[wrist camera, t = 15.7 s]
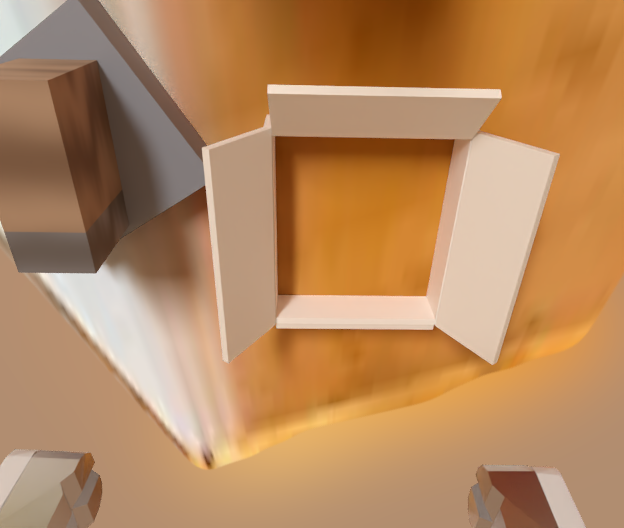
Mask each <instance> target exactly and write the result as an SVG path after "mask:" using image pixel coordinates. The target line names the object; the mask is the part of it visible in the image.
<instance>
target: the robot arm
mask: <svg viewBox="0 0 624 528" xmlns="http://www.w3.org/2000/svg"><path fill="white" fill-rule="evenodd" d="M94 463H95V461H94V459H93V457H92V454H91V453H88V452H64V451H42V450H17V449H15V450H14V451H12V452H11V453H10V454H9V455H8V456H7V457H6V458H5V459H4V461H3V463H2V464H1V466H0V528H87V527H89V526H90V525H91V524H92V523H93V522H94V520H95V517H96V515H97V512H98V510H99V507H100V501H101V497H102V481H101V478H100V475H98V474H97V473H96V472H94V471H93V470H92V468H93V465H94ZM476 477H477V480H478V483H477V484H476V485H474V486H472V487H471V489H470V493H469V496H468V514H469V520H470V524H471V528H586V526H585V524H584V522H583V520H582V518H581V516H580V514H579V512H578V509H577V507H576V505H575V503H574V501H573V499H572V497H571V495H570V493H569V490H568V488H567V486H566V484H565V482H564V480H563V478H562V476H561V474H560V472H559V471H558V470H557V469H556V468H554V467H539V466H524V465H522V466H521V465H520V466H519V465H481V466H480V467H479V468H478V470H477V473H476Z"/></svg>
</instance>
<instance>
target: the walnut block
mask: <svg viewBox="0 0 624 528" xmlns="http://www.w3.org/2000/svg"><path fill="white" fill-rule="evenodd" d="M0 221H1V224H2V226H3V229H4V232H5V235H6V238H7V241H8V244H9V246H10V249H11V252H12V255H13V258H14V261H15V263H16V266H17V269H18V272H26V273H97V271H98V270H99V268H100V267H101V265H102V264H103V262H104V261H105V260H106V258H107V257H108V255H109V254H110V252H111V251H112V249H113V248H114V247H115V245H116V244H117V242H118V241H119V239H120V238H121V237H122V235H123V234H124V232H125V231H126V229H127V228H128V226H129V221H128V216H127V211H126V206H125V201H124V196H123V191H122V186H121V181H120V175H119V170H118V165H117V160H116V155H115V150H114V145H113V140H112V135H111V130H110V125H109V120H108V114H107V109H106V104H105V99H104V94H103V89H102V84H101V79H100V74H99V69H98V64H97V60H68V59H24V58H19V59H15V60H12V61H8V62H5V63H2V64H0Z"/></svg>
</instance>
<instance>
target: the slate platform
mask: <svg viewBox="0 0 624 528" xmlns="http://www.w3.org/2000/svg"><path fill="white" fill-rule="evenodd" d="M19 58H24V59H68V60H97V64H98V69H99V74H100V79H101V84H102V89H103V94H104V99H105V104H106V109H107V114H108V120H109V125H110V130H111V135H112V140H113V145H114V150H115V155H116V160H117V165H118V170H119V175H120V181H121V186H122V191H123V196H124V201H125V206H126V211H127V216H128V221H129V226H128V228H127V229H126V231H125V232H124V234H123V235H122V237H124V236H126V235H127V234H129V233H130V232H132V231H134V230H135V229H137V228H138V227H140V226H141V225H143V224H145V223H146V222H148V221H149V220H151V219H153V218H154V217H156V216H157V215H159V214H160V213H162V212H164V211H165V210H167V209H168V208H170V207H172V206H173V205H175V204H176V203H178V202H180V201H181V200H183V199H184V198H186V197H187V196H189V195H191V194H192V193H194V192H195V191H197V190H199V189H200V188H202V187H203V186H205V176H204V166H203V156H202V148H203V147H206V146H207V145H206V144H205V143H204V141H203V140H202V138H201V137H200V136H199V134H198V133H197V132H196V130H195V129H194V128H193V126H192V125H191V124H190V122H189V121H188V120H187V118H186V117H185V116H184V114H183V113H182V112H181V110H180V109H179V108H178V106H177V105H176V104H175V102H174V101H173V100H172V98H171V97H170V96H169V94H168V93H167V92H166V90H165V89H164V88H163V86H162V85H161V84H160V82H159V81H158V80H157V78H156V77H155V76H154V74H153V73H152V72H151V70H150V69H149V68H148V66H147V65H146V64H145V62H144V61H143V60H142V58H141V57H140V56H139V54H138V53H137V52H136V50H135V49H134V48H133V46H132V45H131V44H130V42H129V41H128V40H127V38H126V37H125V36H124V34H123V33H122V32H121V30H120V29H119V28H118V26H117V25H116V24H115V22H114V21H113V20H112V18H111V17H110V16H109V14H108V13H107V12H106V10H105V9H104V8H103V6H102V5H101V4H100V2H99V1H98V0H67V1H66V2H65V3H64V4H62V5H61V6H60V7H59V8H58V9H57V10H55V11H54V12H53V13H52V14H51V15H49V16H48V17H47V18H46V19H45V20H43V21H42V22H41V23H40V24H39V25H37V26H36V27H35V28H34V29H33V30H31V31H30V32H29V33H28V34H27V35H26V36H24V37H23V38H22V39H21V40H20V41H18V42H17V43H16V44H15V45H14V46H12V47H11V48H10V49H9V50H8V51H6V52H5V53H4V54H3V55H2V56H1V57H0V64H2V63H5V62H8V61H12V60H15V59H19ZM122 237H121V238H122ZM121 238H120V239H121Z"/></svg>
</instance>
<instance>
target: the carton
mask: <svg viewBox="0 0 624 528" xmlns="http://www.w3.org/2000/svg"><path fill="white" fill-rule="evenodd" d="M267 94H268V103H269V112H270V115H267V116H266V119H265V123H264V127H262V128H259V129H256V130H253V131H250V132H247V133H244V134H241V135H238V136H235V137H232V138H229V139H226V140H223V141H220V142H217V143H214V144H211V145H208V146H206V147H203V148H202V156H203V166H204V176H205V186H206V196H207V206H208V216H209V226H210V236H211V246H212V256H213V266H214V276H215V286H216V296H217V306H218V316H219V326H220V336H221V346H222V356H223V361H225V362H227V363H228V364H229V363H230V362H231V361H232V360H233V359H235V358H236V357H237V356H238V355H240V354H241V353H242V352H243V351H244V350H246V349H247V348H248V347H249V346H250V345H252V344H253V343H254V342H255V341H256V340H258V339H259V338H260V337H261V336H262V335H264V334H265V333H266V332H267V331H268V330H270V329H271V328H272V327H273V326H274V325H275V323H276V328H290V329H415V330H433V327H434V325H435V326H436V327H437V328H439V329H440V330H442V331H443V332H445V333H446V334H448V335H449V336H451V337H452V338H453V339H455V340H456V341H458V342H459V343H461V344H462V345H464V346H465V347H467V348H468V349H470V350H471V351H472V352H474V353H475V354H477V355H478V356H480V357H481V358H483V359H484V360H486V361H487V362H489V363H490V364H491V365H494V364H495V363H497V361H498V358H499V354H500V351H501V348H502V344H503V341H504V338H505V335H506V331H507V328H508V325H509V321H510V318H511V315H512V311H513V308H514V305H515V301H516V298H517V295H518V291H519V288H520V285H521V282H522V278H523V275H524V272H525V268H526V265H527V262H528V258H529V255H530V252H531V248H532V245H533V242H534V238H535V235H536V232H537V229H538V225H539V222H540V219H541V215H542V212H543V209H544V205H545V202H546V199H547V195H548V192H549V189H550V186H551V182H552V179H553V176H554V172H555V169H556V166H557V162H558V159H559V156H560V154H558V153H555V152H551V151H548V150H544V149H541V148H537V147H534V146H531V145H527V144H524V143H520V142H517V141H513V140H510V139H507V138H503V137H500V136H496V135H493V134H489V133H486V132H482V131H480V130H479V129H480V128H481V126H482V125H483V123H484V122H485V121H486V119H487V118H488V116H489V115H490V114H491V112H492V111H493V110H494V108H495V107H496V105H497V104H498V103H499V101H500V100H501V89H453V88H405V87H357V86H309V85H268V93H267ZM275 136H296V137H351V138H406V139H455V141H454V146H453V152H452V157H451V163H450V168H449V174H448V180H447V185H446V191H445V196H444V202H443V207H442V213H441V218H440V224H439V229H438V235H437V240H436V246H435V251H434V257H433V262H432V268H431V274H430V279H429V285H428V290H427V296H335V295H278V271H277V215H276V159H275Z"/></svg>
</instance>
